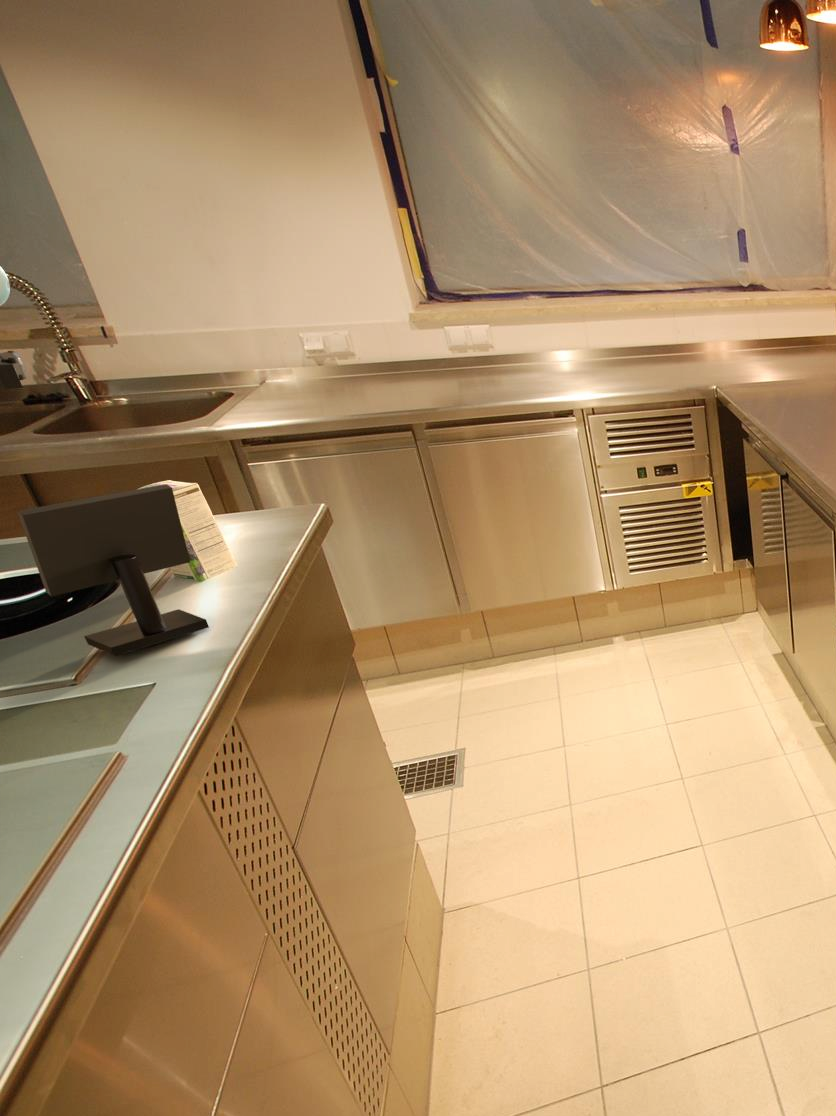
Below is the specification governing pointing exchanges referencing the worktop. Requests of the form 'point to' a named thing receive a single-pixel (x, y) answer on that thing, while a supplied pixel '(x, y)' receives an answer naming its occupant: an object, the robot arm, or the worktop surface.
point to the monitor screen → (104, 537)
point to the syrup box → (198, 535)
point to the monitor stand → (142, 615)
